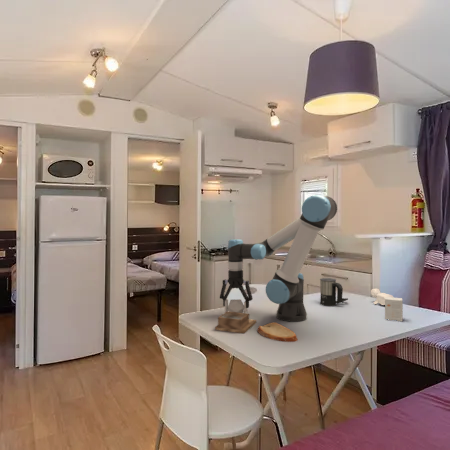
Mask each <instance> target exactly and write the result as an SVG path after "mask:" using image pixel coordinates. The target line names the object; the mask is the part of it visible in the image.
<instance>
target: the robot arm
mask: <svg viewBox="0 0 450 450" xmlns="http://www.w3.org/2000/svg"><path fill="white" fill-rule="evenodd" d="M337 212H338V205H337V202H336V200H335V199H333V198H332V197H331V196H328V195H322V194H314V195H310V196H309V197H307V198H306V199H305V200H304V201H303V203H302V205H301V215H300V216H299V217H298V218H295V220H294V221H292V222H290V223H289V224H287V225H286V226H285V227H283V228H281V229H279V230H277V232H275V233H274V234H272V235H271V236H269V237H267V238H266V239H264V240H263V241H262V242H257V243H244V241H243V239H241V238H240V239H235V238H234V239H229V240H228V243H227V244H228V245H227V252H228V254H227V257H228V259H227V261H228V262H227V266H228V267H227V268H228V271H227V272H228V273H227V274H228V278H227V279H222V286H221V290H220V294H219V299H222V306H223V307H224V313H226V312H229V311H228V306H229V299H228V297H229V295H230V293H231V291H232V290H233V289H238V290H239V291H240V293H241V295H242V297H243V299H244V302H243V305H244V311H243V313H246V314H248V308H250V302H251V301H252V300H253V298H254V297H253V295H252V291H251V287H250V281H249V280H245V279H244V270H243V269H244V265H243V264H244V260H245V259H249V260H263V259H264V258H266V257H269V256H271V255H273V253H274V252H275V251H277V250H279V249H280V248H282V247H284V246H285V245H287V244H288V243H290V242H291V245H290V247H289V250H288V252H287V254H286V256H285V258H284V260H283V263H282V264H281V267H280V268H278V269H277V270H275V272H274V274H273V277H272V279H271V280H269V281H268V282H267V283H266V284H265V285H266V286H265V294H266V296H267V298H268V299H269V301H270V302H271V303H274V304H277V305H278V307H277V309H276V318H277V319H279V320H282V321H284V322H285V321H286V322H302V321H306V320H307V319H308V316H307V315H308V314H307V310H306V306H305V304H304V284H305V283H304V282H305V279H304V274H303V273H302V272H301V270H302V268H303V265H304V264H305V261H306V259H307V257H308V256H309V253H310V251H311V249H312V246H313V245H314V242H315V241H316V238H317V236H318V235H319V232H321V231H323V230H324V229H325V227H326V225H327V223H328V222H329V221H330V220H332V219H333V218H334V217H335V216H337V215H336V214H337ZM243 284H244V286H245V288H244V286H243ZM227 285H228V287H227ZM226 289H227V290H226Z"/></svg>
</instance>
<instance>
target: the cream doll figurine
mask: <svg viewBox="0 0 450 450" xmlns="http://www.w3.org/2000/svg"><path fill="white" fill-rule="evenodd" d="M370 296H371V297H373V298H376V299H375V300H374V301H373V303H374V304H376V305H378V304H380V305H382V306H384V305H385V297H392V298H395V297H394V296H393V294H388V293H385V292H381V291H380V289H379V288H372V289H370Z"/></svg>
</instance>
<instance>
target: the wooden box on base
mask: <svg viewBox="0 0 450 450" xmlns="http://www.w3.org/2000/svg"><path fill="white" fill-rule="evenodd" d="M256 323H257V319H252V318H250V314H249V313H247V314H246V313H244V312H243V313H236V312H229V311H228V312H226V313H225V312H224V313H223V314H221V315H219V316H217V325H216V326H214V330H215V331H222V332H229V333H238V334H246V333H247V332H248V331H249V330H250V329H251V328H252V327H253V326H255V325H256Z"/></svg>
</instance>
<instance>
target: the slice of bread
mask: <svg viewBox="0 0 450 450" xmlns="http://www.w3.org/2000/svg"><path fill="white" fill-rule="evenodd" d="M257 333H258V335H260V336H263V337H264V338H267V339H270V340H273V341H277V342H284V343H294V342H298V337H297V335H296V333H295V332H294V331H293V330H291V329H290V328H288V327H286V326H284V325H282V324H280V323H278V322H276V321H275V322H269V323H267V324H264V325H258V327H257Z"/></svg>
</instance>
